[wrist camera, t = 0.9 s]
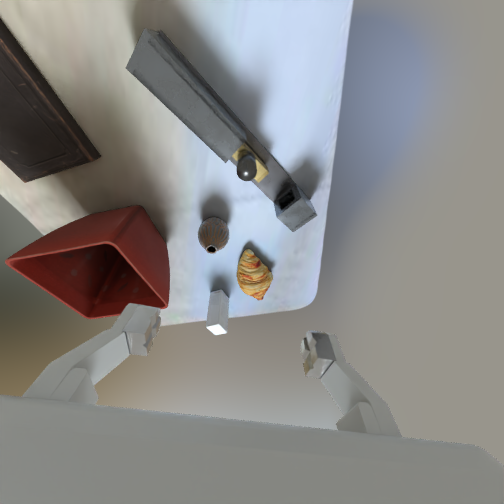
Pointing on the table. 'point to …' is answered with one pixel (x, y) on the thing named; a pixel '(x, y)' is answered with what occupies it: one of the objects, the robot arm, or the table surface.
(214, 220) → the vase
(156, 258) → the plant pot
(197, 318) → the table surface
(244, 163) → the sliding bolt
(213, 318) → the skincare box
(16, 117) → the hardcover book
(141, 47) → the guide
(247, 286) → the croissant
